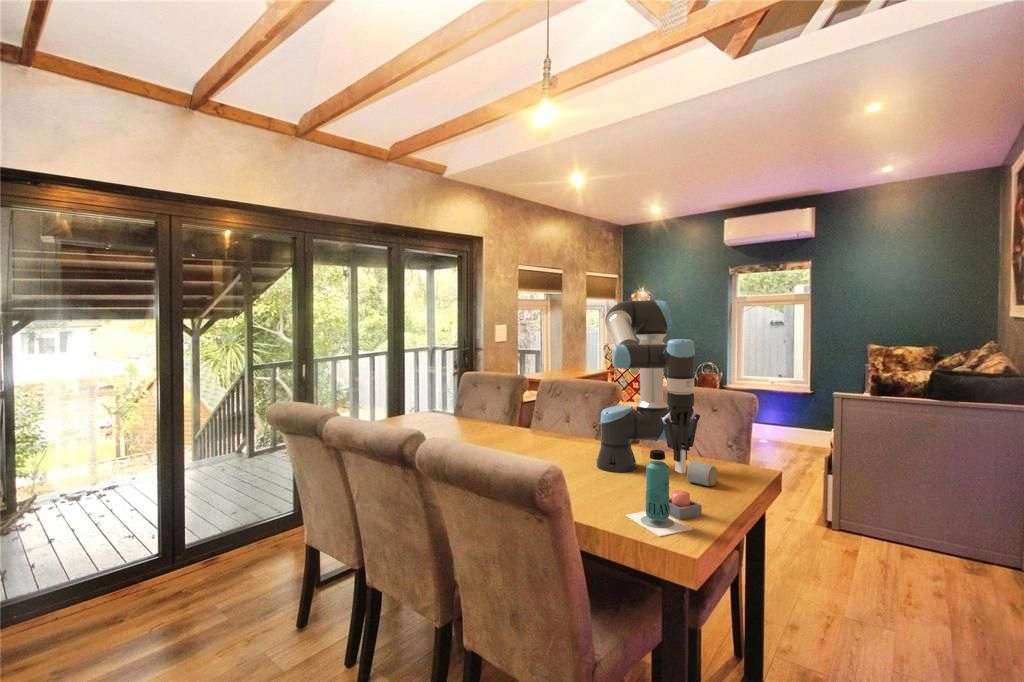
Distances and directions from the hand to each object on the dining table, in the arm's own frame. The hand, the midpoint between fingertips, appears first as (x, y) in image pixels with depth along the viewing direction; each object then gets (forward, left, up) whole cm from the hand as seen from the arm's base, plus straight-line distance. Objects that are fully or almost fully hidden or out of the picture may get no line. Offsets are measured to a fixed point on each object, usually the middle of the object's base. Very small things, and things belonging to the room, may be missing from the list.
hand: (680, 471), depth 140 cm
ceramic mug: (-17, +25, -12) cm, 33 cm away
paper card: (+3, -11, -12) cm, 17 cm away
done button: (0, 0, -11) cm, 11 cm away
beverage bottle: (+3, -11, -12) cm, 17 cm away
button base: (0, 0, -12) cm, 12 cm away
